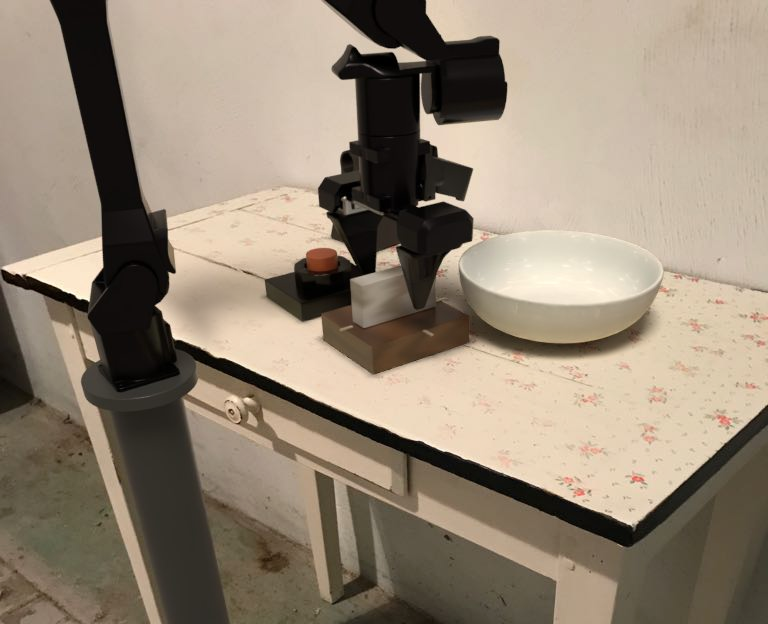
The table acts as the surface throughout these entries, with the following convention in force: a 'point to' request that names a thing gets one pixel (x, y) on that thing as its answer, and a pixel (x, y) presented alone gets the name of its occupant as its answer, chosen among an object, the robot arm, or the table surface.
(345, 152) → the phone stand
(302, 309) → the button block
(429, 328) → the brown wooden block base
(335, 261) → the button
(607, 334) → the serving bowl
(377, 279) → the silver metal brick
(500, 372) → the table surface
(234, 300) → the table surface
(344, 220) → the robot arm
